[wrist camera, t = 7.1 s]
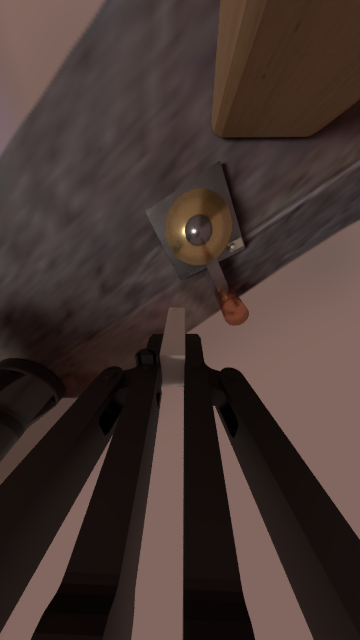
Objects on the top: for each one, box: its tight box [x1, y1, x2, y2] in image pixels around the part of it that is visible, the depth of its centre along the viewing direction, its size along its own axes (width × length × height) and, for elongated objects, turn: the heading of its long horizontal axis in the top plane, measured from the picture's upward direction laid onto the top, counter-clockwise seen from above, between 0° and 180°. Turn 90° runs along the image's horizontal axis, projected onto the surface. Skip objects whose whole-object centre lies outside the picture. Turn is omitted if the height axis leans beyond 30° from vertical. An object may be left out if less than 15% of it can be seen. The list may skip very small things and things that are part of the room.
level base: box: [145, 161, 245, 280], centre depth 19 cm, size 9×9×2 cm
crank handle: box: [165, 188, 249, 325], centre depth 17 cm, size 13×7×7 cm, turn 29°
